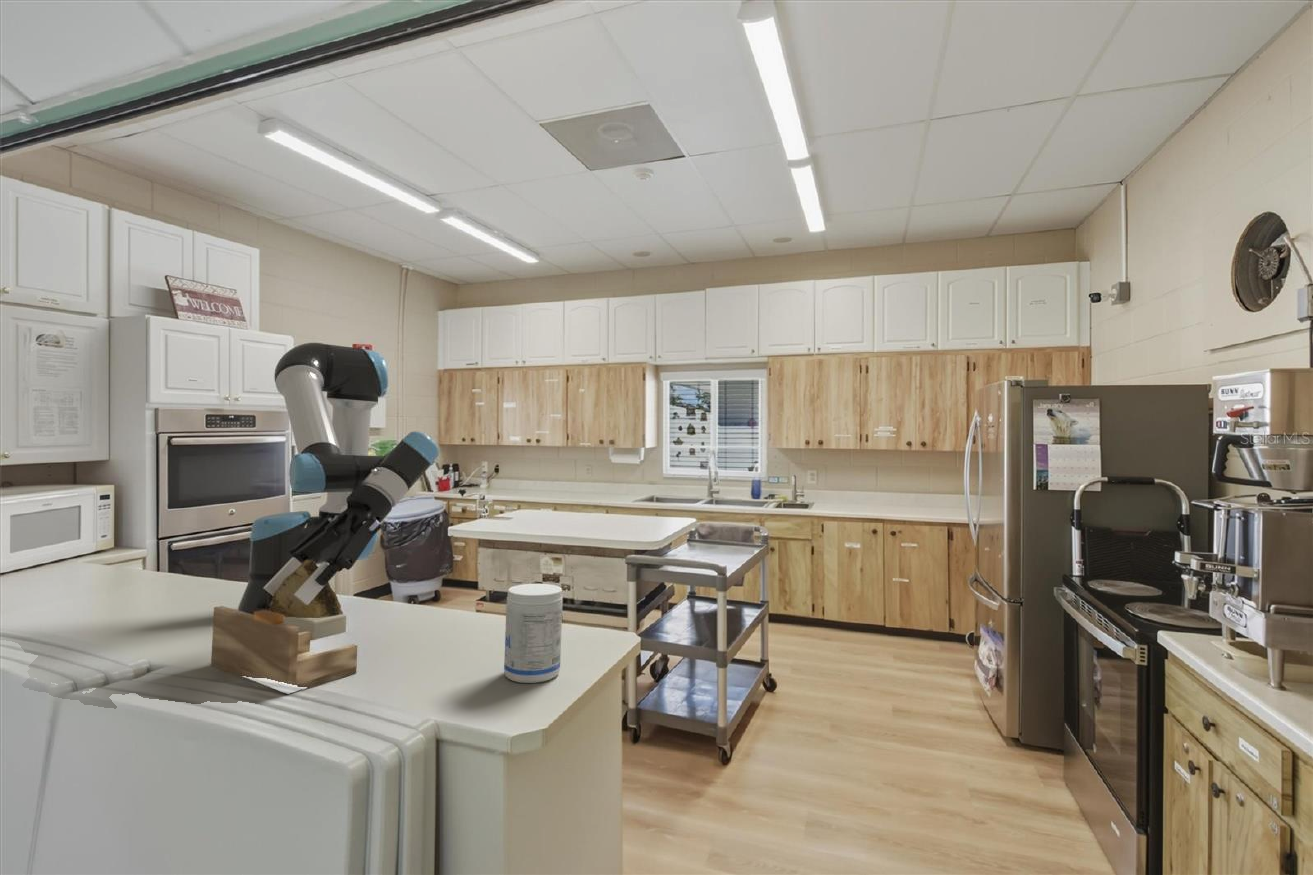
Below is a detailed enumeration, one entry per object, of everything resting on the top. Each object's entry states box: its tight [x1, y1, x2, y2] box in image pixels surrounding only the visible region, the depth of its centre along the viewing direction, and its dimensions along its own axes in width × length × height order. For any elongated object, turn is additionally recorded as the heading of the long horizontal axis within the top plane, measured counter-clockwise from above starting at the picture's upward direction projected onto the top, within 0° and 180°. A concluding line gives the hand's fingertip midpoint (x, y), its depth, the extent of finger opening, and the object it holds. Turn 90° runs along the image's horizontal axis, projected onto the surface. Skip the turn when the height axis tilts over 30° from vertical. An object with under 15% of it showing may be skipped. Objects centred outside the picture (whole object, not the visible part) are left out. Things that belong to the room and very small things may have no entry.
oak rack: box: [210, 605, 358, 689], centre depth 102 cm, size 11×25×11 cm, turn 60°
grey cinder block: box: [284, 613, 347, 641], centre depth 126 cm, size 7×4×18 cm
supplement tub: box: [503, 583, 563, 684], centre depth 102 cm, size 10×10×15 cm
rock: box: [269, 560, 344, 618], centre depth 101 cm, size 11×9×10 cm
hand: (285, 596), depth 98 cm, fingers closed on rock, 9 cm apart
